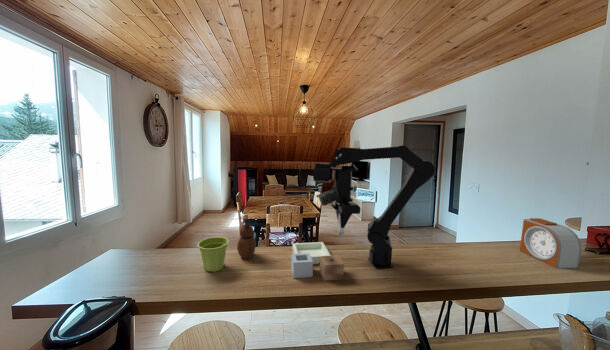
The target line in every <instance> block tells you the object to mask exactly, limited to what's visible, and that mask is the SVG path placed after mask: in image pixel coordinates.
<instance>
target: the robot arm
mask: <svg viewBox="0 0 610 350" xmlns="http://www.w3.org/2000/svg"><path fill="white" fill-rule="evenodd" d="M397 158H398V159H401V160H402V161H403V162H404V163H405V164H406V165H408V166H409V167H410V169H409V171H408V174H407V177H406V180H405V181H404V183H403V184H402V186H401V187H400V189H399V190H398V191H397V193H396V194H395V196H394V197H393V199H392V200H391V201H390V203H389V204H388V206H387V207H386V208H385V210H384V211H383V212H382V214H381V215H380V216H379V217H378V218H377V216H375V215H374V216H373V217H372V219H371V220H370V222H369V223H368V224H367V229H366V230H367V235H366V236H367V241H368V242H369V243H370V249H369V252H368V253H369V255H368V262H369V263H370V264H372V266H373V267H374V268H375V269H388V268H389V269H390V268H394V264H392V258H393V257H392V255H393V247H392V242H391V237H390V236H389V235H388V234H389V232H390V229H391V226H392V224H393V222H394V221H395V220H396V219H397V217H398V215H400V213H401V211H402V210H403V209H404V207H406V204H407V203H408V202H409V201H410V199H411V198H412V197H413V195H414V194H415V193H416V191H418V189H419V188H421V187H423V185H425V184H426V183H427V182H428V181H429V180H430V179H432V177H433V176H434V175H435V174H436V168H435V165H434V164H433V163H432V162H431V161H429V160H425V159H422V158H421V157H419V156H418V155H417V153H416V154H415V153H414V152H413V151H412V150H410V149H409V147H407V145H402V144H401V145H398V146H386V147H385V146H384V147H376V148H359V147H358V148H357V147H355V148H354V147H345V146H344V147H340V148H338V149H337V150H336V151H335V154H334V157H333V160H331V161H330V163H322V162H316V163H315V164H314V168H313V173H312V179H313V181H314V182H315V183H317V182H319V183H331V181H333V180H334V184H333V185H332V187H331V188H332V189H329V190H326V191H324V192H320V193H319V194H318V195H317V196H318V199H319V202H320V204H321V205H322V206H323V207H324V206H327V205H328V204H330V206H331V207H332V209H334V211H335V214H336V219H337V220H338V219H339V215H340V224H341V228H344V229H345V227H346V225H347V223H348V222H349V220H350V218H351V216H352V215H357V214H358V215H359V214H361V207H360V206H359V205H358V204H357V203H356V202H353V201H354V200H353V199H354V198H352V191H354V187H353V186H352V180H353V172H357V171H358V168H357V166H355V164H354V163H356V162H360V161H365V160H367V161H368V160H380V159H383V160H384V159H397ZM351 163H352V164H351ZM347 164H348V165H347ZM349 164H351V165H349ZM340 165H342V166H341V167H340V168H339V167H338V166H340Z"/></svg>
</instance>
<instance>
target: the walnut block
mask: <svg viewBox="0 0 610 350" xmlns="http://www.w3.org/2000/svg"><path fill="white" fill-rule="evenodd" d="M344 267H345V264H344V262H343V261H342V259H341V258H340V256H339V255H338V254H336V255H331V256H320V264H319V273H320V275H321V277H322V279H323V281H324V282H326V280H327V281H336V280H338V281H340V280H344V272H345V271H344V270H345V269H344Z"/></svg>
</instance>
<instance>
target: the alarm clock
mask: <svg viewBox="0 0 610 350" xmlns="http://www.w3.org/2000/svg"><path fill="white" fill-rule="evenodd" d="M519 246H520V247H519V251H520V252H522V253H524V254H526V255H528V256H530V257H533V258H534V259H537V260H538V261H541V262H543V263H545V264H547V265H549V266H551V267H553V268H556V269H578V268H579V267H580V261H581V255H582V242H581V239H580V238H579V236H578V235H577V234H576V232H574V231H573V230H572V229H571V228H569V227H567V226H565V225H561V224H558V223H556V222H553V221H550V220H546V219H543V218H537V217H536V218H535V217H534V218H533V217H530V218H524V219H523V223H522V231H521V237H520V245H519Z"/></svg>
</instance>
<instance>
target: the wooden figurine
mask: <svg viewBox="0 0 610 350" xmlns="http://www.w3.org/2000/svg"><path fill="white" fill-rule="evenodd" d="M253 234H254V228H253V226H252V225H248V219H247V217H245V225H243V226H241V227H240V230H239V235H240V237H239V239H238V242H237V246H236V247H237V253H238V255H239V256H240V257H241V258H242V259H250V258H251V257H253V256H254V253H255V252H256V251H255V250H256V245H257V242H256V237H255V236H254V235H253Z"/></svg>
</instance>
